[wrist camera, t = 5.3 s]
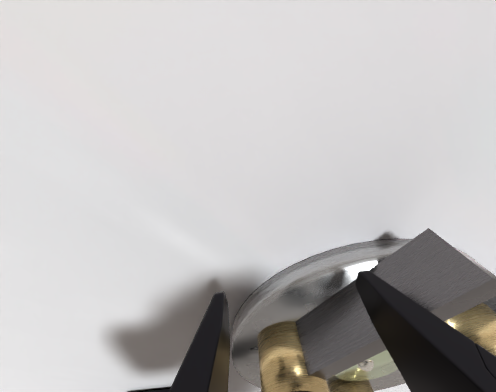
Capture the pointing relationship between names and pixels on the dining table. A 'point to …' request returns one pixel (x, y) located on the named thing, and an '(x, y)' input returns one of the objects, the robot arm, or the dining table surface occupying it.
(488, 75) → the dining table surface
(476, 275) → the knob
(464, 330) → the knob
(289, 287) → the levelling base
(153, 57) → the dining table surface
